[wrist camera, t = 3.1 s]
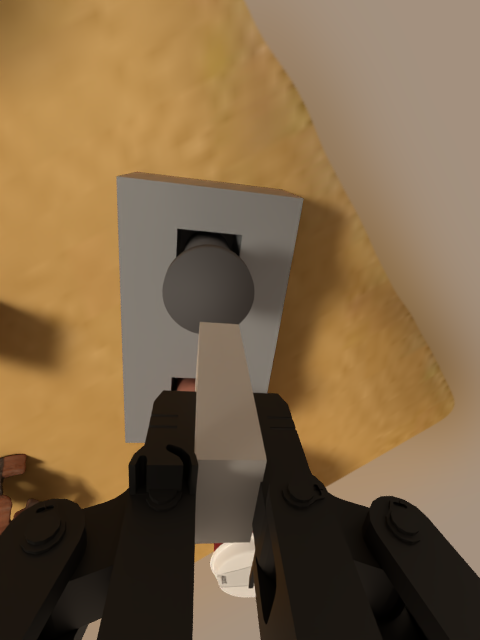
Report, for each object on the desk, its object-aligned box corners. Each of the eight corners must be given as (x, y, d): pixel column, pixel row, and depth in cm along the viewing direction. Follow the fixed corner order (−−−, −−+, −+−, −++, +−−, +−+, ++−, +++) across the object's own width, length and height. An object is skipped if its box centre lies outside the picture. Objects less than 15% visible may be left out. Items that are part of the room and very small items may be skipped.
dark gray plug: (175, 217, 25) (163, 244, 17) (242, 224, 25) (260, 253, 18) (173, 281, 27) (161, 332, 19) (235, 286, 28) (248, 337, 20)
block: (136, 171, 27) (116, 176, 21) (281, 189, 29) (303, 198, 22) (138, 393, 36) (125, 442, 30) (248, 396, 38) (257, 444, 32)
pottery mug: (52, 443, 39) (51, 523, 34) (67, 466, 46) (67, 534, 42) (-79, 469, 35) (-101, 564, 30) (-41, 489, 42) (-53, 568, 37)
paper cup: (211, 475, 43) (215, 606, 30) (204, 429, 39) (205, 556, 27) (272, 466, 43) (301, 593, 31) (270, 421, 40) (301, 542, 27)
